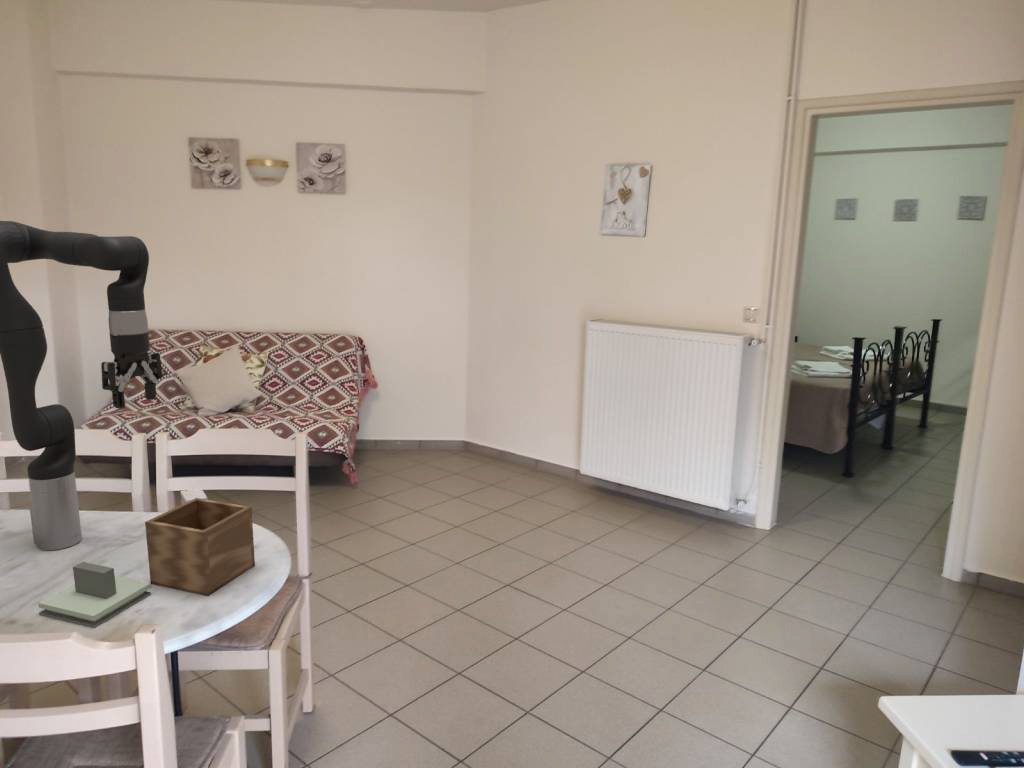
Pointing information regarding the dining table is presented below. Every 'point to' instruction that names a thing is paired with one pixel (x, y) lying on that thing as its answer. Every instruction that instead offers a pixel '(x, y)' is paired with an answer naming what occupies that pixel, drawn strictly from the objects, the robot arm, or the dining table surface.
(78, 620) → the mat
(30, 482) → the robot arm
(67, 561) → the dining table surface
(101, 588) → the lid
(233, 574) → the box
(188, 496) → the ink box
